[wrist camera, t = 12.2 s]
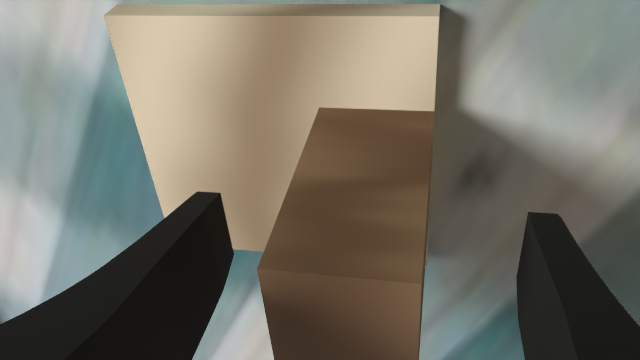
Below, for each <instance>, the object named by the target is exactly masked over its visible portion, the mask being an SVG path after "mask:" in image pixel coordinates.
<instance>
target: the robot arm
mask: <svg viewBox="0 0 640 360" xmlns="http://www.w3.org/2000/svg"><path fill="white" fill-rule="evenodd" d="M233 255H234V252H233V248H232V243H231V238H230V234H229V229H228V225H227V220H226V216H225V211H224V206H223V202H222V197H221V193H216V192H200V191H197V192H196V193H195V194H193V195H192V196H191V197H189V198H188V199H187V200H186V201H185V202H183V203H182V204H181V205H180V206H179V207H177V208H176V209H175V210H174V211H173V212H171V213H170V214H169V215H168V216H167V217H166V218H164V219H163V220H162V221H161V222H160V223H158V224H157V225H156V226H155V227H153V228H152V229H151V230H150V231H148V232H147V233H146V234H145V235H144V236H142V237H141V238H140V239H139V240H137V241H136V242H135V243H133V244H132V245H131V246H129V247H128V248H127V249H125V250H124V251H123V252H121V253H120V254H119V255H117V256H116V257H115V258H113V259H112V260H111V261H109V262H108V263H107V264H105V265H104V266H102V267H101V268H100V269H98V270H97V271H95V272H94V273H92V274H91V275H89V276H88V277H86V278H85V279H83V280H81V281H80V282H78V283H76V284H75V285H73V286H72V287H70V288H68V289H67V290H65V291H63V292H62V293H60V294H58V295H56V296H54V297H53V298H51V299H49V300H47V301H45V302H43V303H42V304H40V305H38V306H36V307H34V308H32V309H30V310H29V311H27V312H25V313H23V314H21V315H19V316H17V317H15V318H13V319H10V320H8V321H6V322H4V323H2V324H0V360H192V358H193V356H194V354H195V352H196V349H197V347H198V345H199V343H200V341H201V338H202V336H203V334H204V332H205V330H206V328H207V325H208V323H209V321H210V319H211V317H212V314H213V312H214V310H215V308H216V305H217V303H218V301H219V299H220V296H221V294H222V292H223V289H224V286H225V283H226V280H227V276H228V273H229V270H230V266H231V263H232V259H233ZM517 302H518V320H519V326H520V332H521V338H522V344H523V350H524V356H525V360H640V326H639V325H638V324H637V323H636V322H635V321H634V320H633V318H632V317H631V316H630V315H629V314H628V312H627V311H626V310H625V309H624V308H623V306H622V305H621V304H620V303H619V302H618V300H617V299H616V298H615V296H614V295H613V294H612V293H611V291H610V290H609V289H608V287H607V286H606V285H605V283H604V282H603V281H602V279H601V278H600V276H599V275H598V274H597V272H596V271H595V270H594V268H593V267H592V265H591V264H590V263H589V261H588V260H587V258H586V257H585V255H584V254H583V252H582V251H581V249H580V248H579V246H578V244H577V243H576V241H575V240H574V238H573V237H572V235H571V233H570V232H569V230H568V228H567V227H566V225H565V223H564V222H563V220H562V218H561V217H560V216H559V215H558V214H549V213H533V212H528V217H527V222H526V228H525V233H524V239H523V245H522V250H521V256H520V261H519V267H518V273H517Z"/></svg>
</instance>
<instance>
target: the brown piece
mask: <svg viewBox="0 0 640 360" xmlns="http://www.w3.org/2000/svg"><path fill="white" fill-rule="evenodd" d="M439 17H440V4H237V5H117V6H115V7H114V8H113V9H111V10H110V11H109V12H108V13H106V14H105V15H104V18H105V22H106V25H107V28H108V32H109V35H110V38H111V42H112V45H113V48H114V52H115V55H116V58H117V62H118V65H119V68H120V72H121V75H122V78H123V82H124V85H125V88H126V92H127V95H128V98H129V102H130V105H131V108H132V112H133V115H134V118H135V122H136V125H137V128H138V132H139V135H140V138H141V142H142V145H143V148H144V152H145V155H146V158H147V162H148V165H149V168H150V172H151V175H152V178H153V182H154V185H155V188H156V192H157V195H158V198H159V202H160V205H161V208H162V212H163V215H164V218H166V217H167V216H168V215H169V214H170V213H171V212H173V211H174V210H175V209H176V208H177V207H179V206H180V205H181V204H182V203H183V202H185V201H186V200H187V199H188V198H189V197H191V196H192V195H193V194H195V193H196V192H197V191H200V192H216V193H221V197H222V202H223V206H224V211H225V216H226V220H227V225H228V229H229V234H230V238H231V243H232V248H233V249H238V250H250V251H262V252H264V253H263V255H262V258H261V260H260V263H259V266H258V268H257V271H258V276H259V281H260V286H261V292H262V297H263V302H264V307H265V313H266V318H267V323H268V328H269V334H270V339H271V344H272V350H273V355H274V360H419V348H420V334H421V319H422V305H423V290H424V276H425V265H426V263H427V248H428V228H429V209H430V190H431V171H432V152H433V132H434V113H435V94H436V75H437V56H438V37H439Z"/></svg>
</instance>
